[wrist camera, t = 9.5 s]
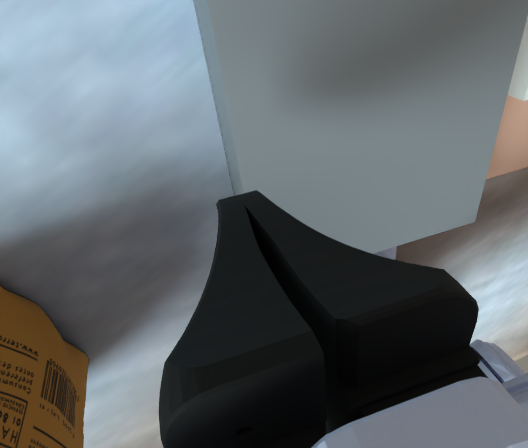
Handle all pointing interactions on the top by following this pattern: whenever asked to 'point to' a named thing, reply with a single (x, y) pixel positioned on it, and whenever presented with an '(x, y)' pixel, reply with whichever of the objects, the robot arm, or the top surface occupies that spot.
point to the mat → (511, 139)
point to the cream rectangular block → (521, 70)
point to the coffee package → (38, 379)
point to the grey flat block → (362, 108)
